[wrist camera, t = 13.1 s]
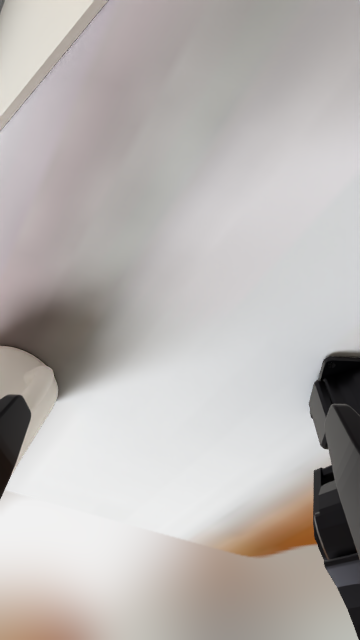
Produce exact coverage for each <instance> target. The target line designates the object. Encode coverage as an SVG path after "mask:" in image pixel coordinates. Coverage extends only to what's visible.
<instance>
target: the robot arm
mask: <svg viewBox="0 0 360 640" xmlns="http://www.w3.org/2000/svg"><path fill="white" fill-rule="evenodd" d="M330 363H333V364H330ZM329 364H330V365H329ZM309 406H310V415H311V418H312V419H313V421H314V424H315V428H316V431H317V435H318V438H319V442H320V445H321V446H322V447H323V448H324V449H329V454H330V458H331V463H332V465H330V466H328V467H326V468H319V469H317V470H314V505H313V525H314V537H315V540H316V542H317V544H318V547H319V550H320V552H321V554H322V557H323V559H324V565H325V568H326V570H327V571H328V573H329V575H330V576H331V578H332V580H333V581H334V583H335V585H336V586H337V588H338V590H339V592H340V594H341V596H342V598H343V601H344V603H345V605H346V607H347V609H348V612H349V614H350V617H351V620H352V622H353V625H354V627H355V630H356V633H357V636H358V639H359V640H360V358H350V357H327V358H325V359H324V361H323V363H322V367H321V371H320V375H319V379H318V380H317V381H316V382H315V383H314V385H313V389H312V393H311V397H310V401H309ZM30 420H31V411H30V409H29V407H28V405H27V403H26V401H25V399H24V397H23V396H22V395H18V394H9V395H6V396H4V397H3V398H1V399H0V499H1V497H2V494H3V492H4V490H5V488H6V485H7V483H8V481H9V479H10V477H11V474H12V472H13V469H14V467H15V464H16V462H17V459H18V456H19V453H20V450H21V447H22V444H23V441H24V438H25V435H26V432H27V429H28V426H29V423H30Z"/></svg>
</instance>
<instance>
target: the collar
mask: <svg viewBox="0 0 360 640" xmlns="http://www.w3.org/2000/svg"><path fill="white" fill-rule="evenodd" d="M4 2H5V0H0V13H1V10H2V7H3V4H4Z"/></svg>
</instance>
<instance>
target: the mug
mask: <svg viewBox="0 0 360 640" xmlns="http://www.w3.org/2000/svg"><path fill="white" fill-rule="evenodd" d="M9 394H18V395H22V396H23V397H24V399H25V401H26V403H27V405H28V407H29V409H30V411H31V420H30V423H29V426H28V429H27V432H26V435H25V438H24V441H23V444H22V447H21V450H20V453H19V456H18V459H17V462H16V464H15V467H14V469H13V472H14V470H15V468H16V467H17V465H18V464H19V462H20V460H21V459H22V457H23V455H24V454H25V452H26V451H27V449H28V447H29V446H30V444H31V442H32V441H33V439H34V438H35V436H36V434H37V433H38V431H39V429H40V428H41V426H42V425H43V423H44V421H45V420H46V418H47V416H48V415H49V413H50V411H51V410H52V408H53V406H54V404H55V402H56V400H57V397H58V385H57V382H56V379H55V377H54V373H53V370H52V369H51V368H50V367H48V366H46V365H45V364H44V363H43V362H42V361H40V360H39V359H38V358H36V357H35V356H33V355H32V354H30V353H28V352H26V351H23V350H21V349H18V348H14V347H9V346H0V399H1V398H3V397H4V396H6V395H9ZM13 472H12V473H13ZM11 475H12V474H11Z"/></svg>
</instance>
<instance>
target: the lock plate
mask: <svg viewBox="0 0 360 640" xmlns="http://www.w3.org/2000/svg"><path fill="white" fill-rule="evenodd" d="M107 1H108V0H5V2H4V4H3V7H2V10H1V13H0V131H1V129H2V128H3V127H4V126H5V125H6V123H7V122H8V121H9V120H10V119H11V117H12V116H13V115H14V114H15V112H16V111H17V110H18V109H19V108H20V106H21V105H22V104H23V103H24V102H25V100H26V99H27V98H28V97H29V96H30V94H31V93H32V92H33V91H34V90H35V88H36V87H37V86H38V85H39V83H40V82H41V81H42V80H43V79H44V77H45V76H46V75H47V74H48V73H49V71H50V70H51V69H52V68H53V67H54V65H55V64H56V63H57V62H58V61H59V59H60V58H61V57H62V56H63V54H64V53H65V52H66V51H67V50H68V48H69V47H70V46H71V45H72V44H73V42H74V41H75V40H76V39H77V38H78V36H79V35H80V34H81V33H82V31H83V30H84V29H85V28H86V27H87V25H88V24H89V23H90V22H91V21H92V19H93V18H94V17H95V16H96V15H97V13H98V12H99V11H100V10H101V9H102V7H103V6H104V5H105V4H106V2H107Z"/></svg>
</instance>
